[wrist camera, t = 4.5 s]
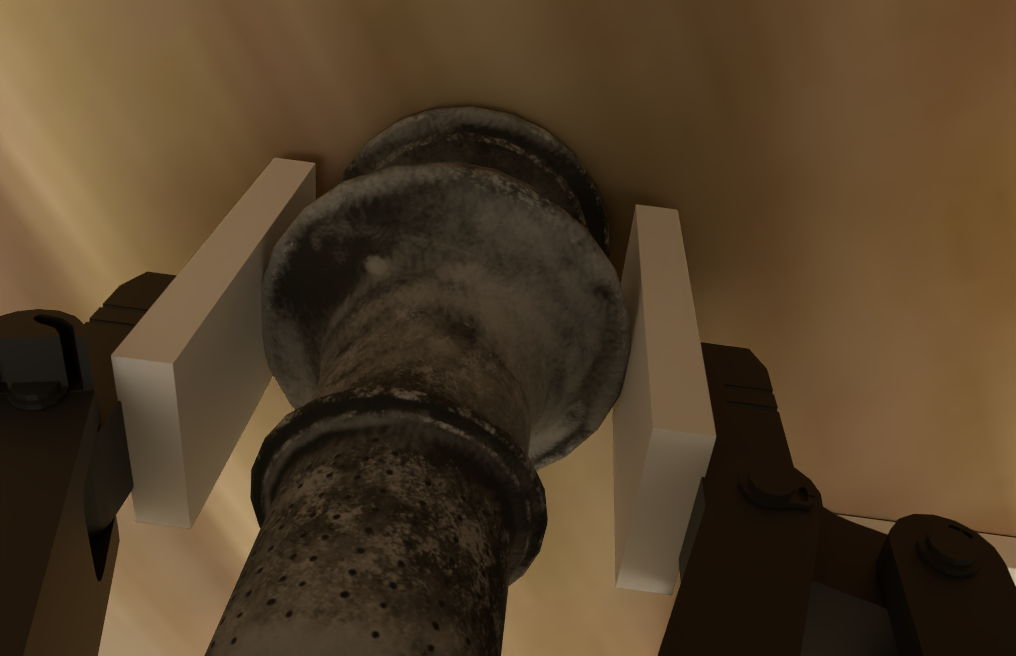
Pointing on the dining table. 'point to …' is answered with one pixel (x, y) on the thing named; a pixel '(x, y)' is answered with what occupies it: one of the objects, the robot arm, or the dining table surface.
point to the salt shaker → (425, 389)
